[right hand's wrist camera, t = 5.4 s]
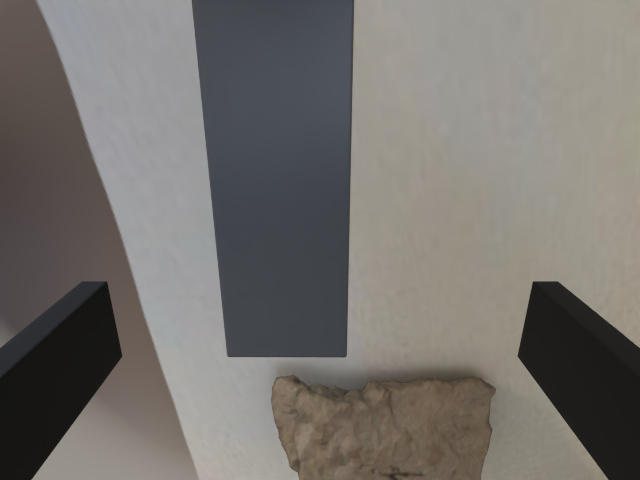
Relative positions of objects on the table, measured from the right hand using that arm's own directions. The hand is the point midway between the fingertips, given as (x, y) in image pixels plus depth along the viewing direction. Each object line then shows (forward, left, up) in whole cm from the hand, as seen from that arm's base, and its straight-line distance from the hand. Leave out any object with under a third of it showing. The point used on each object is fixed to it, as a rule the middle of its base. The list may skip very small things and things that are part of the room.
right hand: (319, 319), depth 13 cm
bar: (+8, +1, -12) cm, 14 cm away
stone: (-25, -6, -22) cm, 34 cm away
